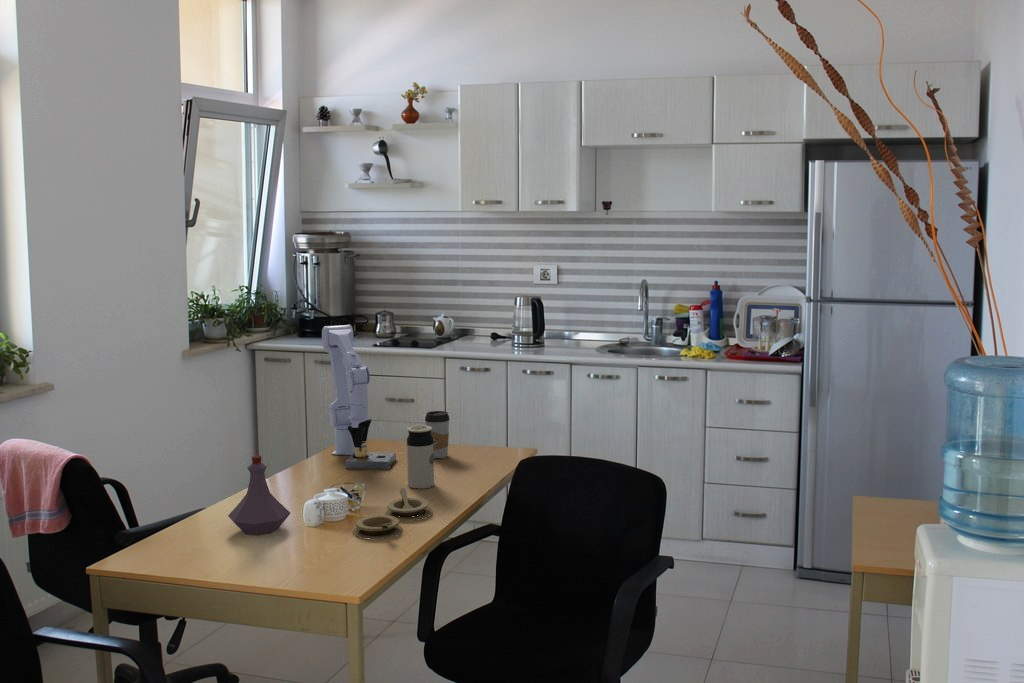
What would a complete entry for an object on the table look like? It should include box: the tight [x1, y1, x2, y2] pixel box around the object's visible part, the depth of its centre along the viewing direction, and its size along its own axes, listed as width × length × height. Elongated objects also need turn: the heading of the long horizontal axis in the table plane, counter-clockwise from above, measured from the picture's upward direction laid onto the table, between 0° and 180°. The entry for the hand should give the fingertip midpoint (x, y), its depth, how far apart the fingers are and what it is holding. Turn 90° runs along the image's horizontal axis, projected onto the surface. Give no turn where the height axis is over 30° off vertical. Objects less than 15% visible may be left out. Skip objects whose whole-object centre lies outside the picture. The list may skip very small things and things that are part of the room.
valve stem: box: [355, 441, 368, 459], centre depth 339 cm, size 4×4×7 cm
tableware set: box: [351, 487, 433, 540], centre depth 279 cm, size 30×20×6 cm, turn 157°
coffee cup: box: [424, 410, 450, 459], centre depth 347 cm, size 8×8×15 cm
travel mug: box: [406, 424, 435, 490], centre depth 312 cm, size 8×8×18 cm
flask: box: [227, 455, 291, 537], centre depth 273 cm, size 16×16×20 cm
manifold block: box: [344, 451, 397, 470], centre depth 339 cm, size 12×14×2 cm
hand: (360, 444), depth 339 cm, fingers open, 7 cm apart
